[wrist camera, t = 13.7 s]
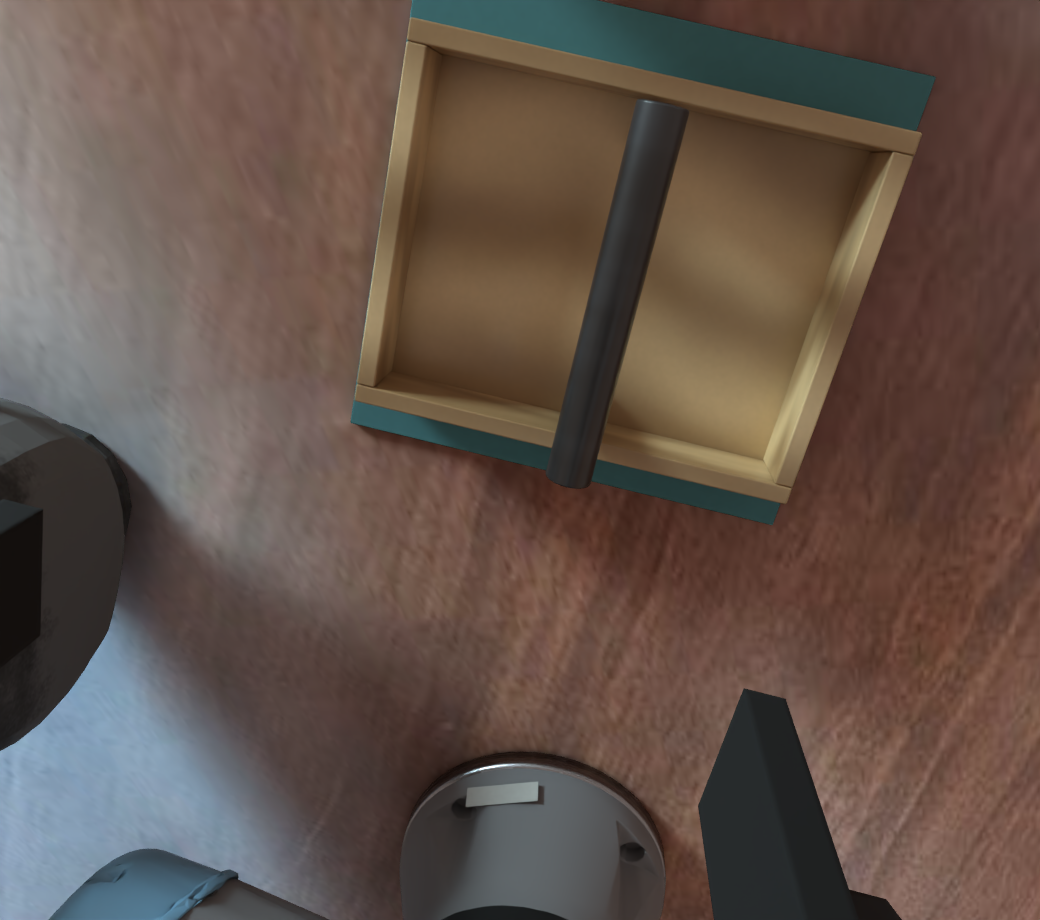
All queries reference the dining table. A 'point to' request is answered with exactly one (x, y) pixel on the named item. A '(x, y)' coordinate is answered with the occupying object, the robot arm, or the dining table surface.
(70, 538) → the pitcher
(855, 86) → the mat
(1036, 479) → the dining table surface
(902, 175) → the tray
